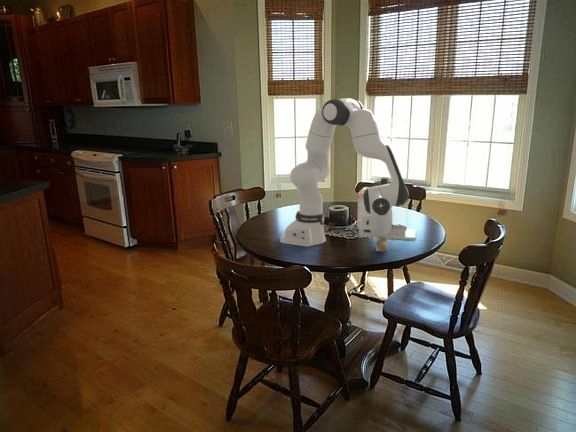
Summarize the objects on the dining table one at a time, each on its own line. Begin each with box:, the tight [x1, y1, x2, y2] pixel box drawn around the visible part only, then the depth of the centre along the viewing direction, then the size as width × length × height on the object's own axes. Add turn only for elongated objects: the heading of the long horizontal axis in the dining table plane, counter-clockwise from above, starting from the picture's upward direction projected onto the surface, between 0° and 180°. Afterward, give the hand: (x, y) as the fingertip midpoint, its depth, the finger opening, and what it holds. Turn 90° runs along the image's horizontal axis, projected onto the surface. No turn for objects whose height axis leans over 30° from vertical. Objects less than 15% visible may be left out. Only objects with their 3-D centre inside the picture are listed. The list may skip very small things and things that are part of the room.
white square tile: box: [388, 228, 416, 241], centre depth 212 cm, size 14×14×1 cm
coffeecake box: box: [356, 186, 370, 230], centre depth 226 cm, size 15×7×20 cm, turn 157°
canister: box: [373, 177, 393, 209], centre depth 253 cm, size 11×10×20 cm
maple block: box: [375, 237, 388, 252], centre depth 191 cm, size 4×4×9 cm
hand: (382, 238), depth 192 cm, fingers open, 8 cm apart
